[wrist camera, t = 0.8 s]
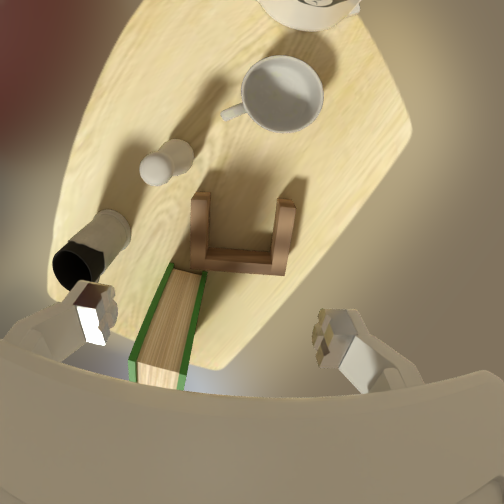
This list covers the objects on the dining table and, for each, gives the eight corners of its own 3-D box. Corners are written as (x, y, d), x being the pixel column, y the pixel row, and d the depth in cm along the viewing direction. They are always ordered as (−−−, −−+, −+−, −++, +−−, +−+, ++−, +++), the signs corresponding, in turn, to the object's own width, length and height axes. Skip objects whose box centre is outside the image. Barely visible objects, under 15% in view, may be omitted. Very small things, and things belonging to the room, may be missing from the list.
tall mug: (133, 215, 46) (95, 255, 33) (127, 279, 52) (98, 329, 39) (92, 204, 45) (47, 239, 31) (91, 268, 51) (56, 312, 38)
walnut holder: (196, 191, 45) (191, 199, 41) (291, 199, 46) (296, 208, 42) (194, 255, 50) (190, 268, 46) (281, 262, 51) (284, 276, 47)
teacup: (303, 61, 35) (315, 51, 28) (316, 125, 40) (331, 127, 33) (214, 76, 36) (208, 68, 29) (229, 140, 41) (226, 145, 34)
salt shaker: (189, 132, 40) (166, 138, 28) (202, 164, 42) (185, 183, 31) (156, 146, 41) (124, 159, 29) (169, 177, 43) (143, 200, 32)
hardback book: (169, 262, 51) (127, 359, 29) (207, 272, 52) (186, 375, 30) (160, 328, 58) (133, 419, 37) (192, 336, 59) (175, 430, 38)
